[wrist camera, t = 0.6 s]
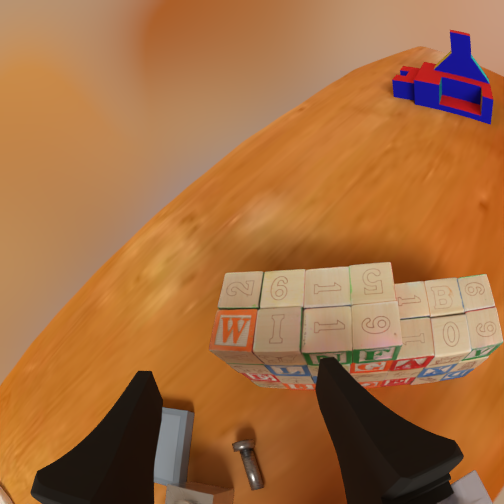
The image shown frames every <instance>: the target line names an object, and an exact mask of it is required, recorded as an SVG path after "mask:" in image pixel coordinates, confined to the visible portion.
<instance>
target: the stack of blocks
mask: <svg viewBox="0 0 504 504" xmlns="http://www.w3.org/2000/svg"><path fill="white" fill-rule="evenodd" d="M218 308H219V310H218V311H217V313H216V316H215V321H214V326H213V331H212V336H211V340H210V345H209V350H210V351H211V352H212V353H214V354H215V355H216V356H218V357H219V358H221V359H222V360H223V361H225V362H226V363H227V364H228V365H230V366H231V367H232V368H233V369H235V370H236V371H237V372H239V373H242V374H243V375H244V376H246V377H247V378H249V379H250V380H251V381H252V382H253V383H255V384H256V385H258V386H260V387H269V388H286V389H291V390H315V387H316V381H317V375H318V369H319V362H320V359H322V358H328V357H335V358H336V359H337V360H338V362H339V363H340V364H341V365H342V366H343V367H344V368H345V369H346V370H347V371H348V372H349V373H350V375H351V376H352V377H353V378H354V379H355V380H356V381H357V382H358V383H359V384H360V385H361V386H363V387H364V388H375V387H381V386H394V385H404V384H410V385H415V384H423V383H431V382H437V381H441V380H448V379H454V378H459V377H463V376H465V375H467V374H468V373H469V372H471V371H472V370H473V369H475V368H476V367H477V366H479V365H480V364H481V363H482V362H484V361H485V360H486V359H487V358H488V356H489V355H490V354H491V353H492V352H493V351H494V350H496V349H497V348H498V347H499V346H500V345H501V344H502V343H503V338H502V332H501V327H500V323H499V318H498V313H497V309H496V307H495V303H494V299H493V295H492V291H491V288H490V284H489V281H488V278H487V275H486V274H481V275H474V276H467V277H460V278H458V279H457V278H446V279H437V280H428V281H416V282H407V283H399V284H394V279H393V271H392V265H391V262H381V263H371V264H359V265H350V266H346V267H330V268H318V269H309V270H305V269H295V270H280V271H267V272H265V273H264V272H262V271H252V272H231V273H226V274H225V277H224V282H223V286H222V290H221V294H220V298H219V302H218Z"/></svg>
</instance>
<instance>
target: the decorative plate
mask: <svg viewBox="0 0 504 504" xmlns="http://www.w3.org/2000/svg"><path fill="white" fill-rule="evenodd" d="M0 504H13V503H12V501H11V499H10V498H9V496H8V495H7V494H6V493H5V491H4V490H3V489H2V488H1V486H0Z"/></svg>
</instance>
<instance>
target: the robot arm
mask: <svg viewBox="0 0 504 504" xmlns="http://www.w3.org/2000/svg"><path fill="white" fill-rule="evenodd" d="M315 390H316V394H317V399H318V403H319V407H320V410H321V413H322V415H323V418H324V421H325V423H326V426H327V428H328V431H329V434H330V436H331V439H332V441H333V444H334V447H335V450H336V453H337V456H338V460H339V464H340V469H341V473H342V478H343V482H344V487H345V493H346V498H347V504H493V503H492V501H491V499H490V497H489V495H488V493H487V491H486V489H485V487H484V485H483V483H482V481H481V479H480V478H479V476H478V474H477V472H476V470H473V471H472V472H470V473H469V474H467V475H465V476H464V477H462V478H461V479H459V480H457V481H456V482H454V483H453V484H451V485H450V483H449V480H450V479H451V476H450V474H449V472H450V471H451V470H452V469H453V468H455V467H456V466H457V465H458V464H459V463H460V462H461V461H462V459H463V457H464V456H463V454H462V452H461V450H460V448H459V446H458V445H457V443H456V442H455V441H454V440H451V439H448V438H445V437H442V436H439V435H436V434H433V433H431V432H429V431H426V430H424V429H422V428H420V427H418V426H416V425H414V424H412V423H411V422H409V421H407V420H405V419H404V418H402V417H400V416H399V415H397V414H396V413H394V412H393V411H391V410H390V409H389V408H387V407H386V406H385V405H383V404H382V403H381V402H379V401H378V400H377V399H376V398H375V397H374V396H372V395H371V394H370V393H369V392H368V391H367V390H366V389H365V388H364V387H363V386H361V385H360V384H359V383H358V382H357V381H356V380H355V379H354V378H353V377H352V376H351V375H350V373H349V372H348V371H347V370H346V369H345V368H344V367H343V366H342V365H341V364H340V363H339V362H338V360H337V359H336V358H335V357H328V358H322V359H320V362H319V369H318V375H317V381H316V387H315ZM162 406H163V399H162V397H161V394H160V392H159V389H158V387H157V384H156V382H155V379H154V377H153V374H152V371H138V372H137V373H136V375H135V376H134V377H133V379H132V380H131V382H130V383H129V385H128V386H127V388H126V389H125V391H124V392H123V394H122V395H121V396H120V398H119V399H118V401H117V402H116V403H115V405H114V406H113V407H112V409H111V410H110V411H109V412H108V414H107V415H106V416H105V417H104V419H103V420H102V421H101V422H100V423H99V424H98V425H97V427H96V428H95V429H94V430H93V431H92V432H91V433H90V434H89V435H88V436H87V437H86V438H85V439H84V440H82V441H81V442H80V443H79V444H78V445H77V446H76V447H74V448H73V449H72V450H71V451H69V452H68V453H67V454H65V455H64V456H62V457H61V458H60V459H58V460H57V461H55V462H53V463H52V464H50V465H48V466H46V467H44V468H42V469H41V470H39V471H37V473H36V476H35V479H34V482H33V486H32V489H31V495H32V496H33V497H34V498H35V499H36V500H38V501H39V502H41V503H42V504H154V465H155V457H156V451H157V445H158V439H159V433H160V427H161V422H162Z"/></svg>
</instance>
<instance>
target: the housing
mask: <svg viewBox="0 0 504 504" xmlns="http://www.w3.org/2000/svg"><path fill="white" fill-rule="evenodd" d="M233 498H234V489H231V488H224V487H218V486H213V485H207V484H202V483H198V482H184V483H173V484H167V491H166V502H165V504H233Z"/></svg>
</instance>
